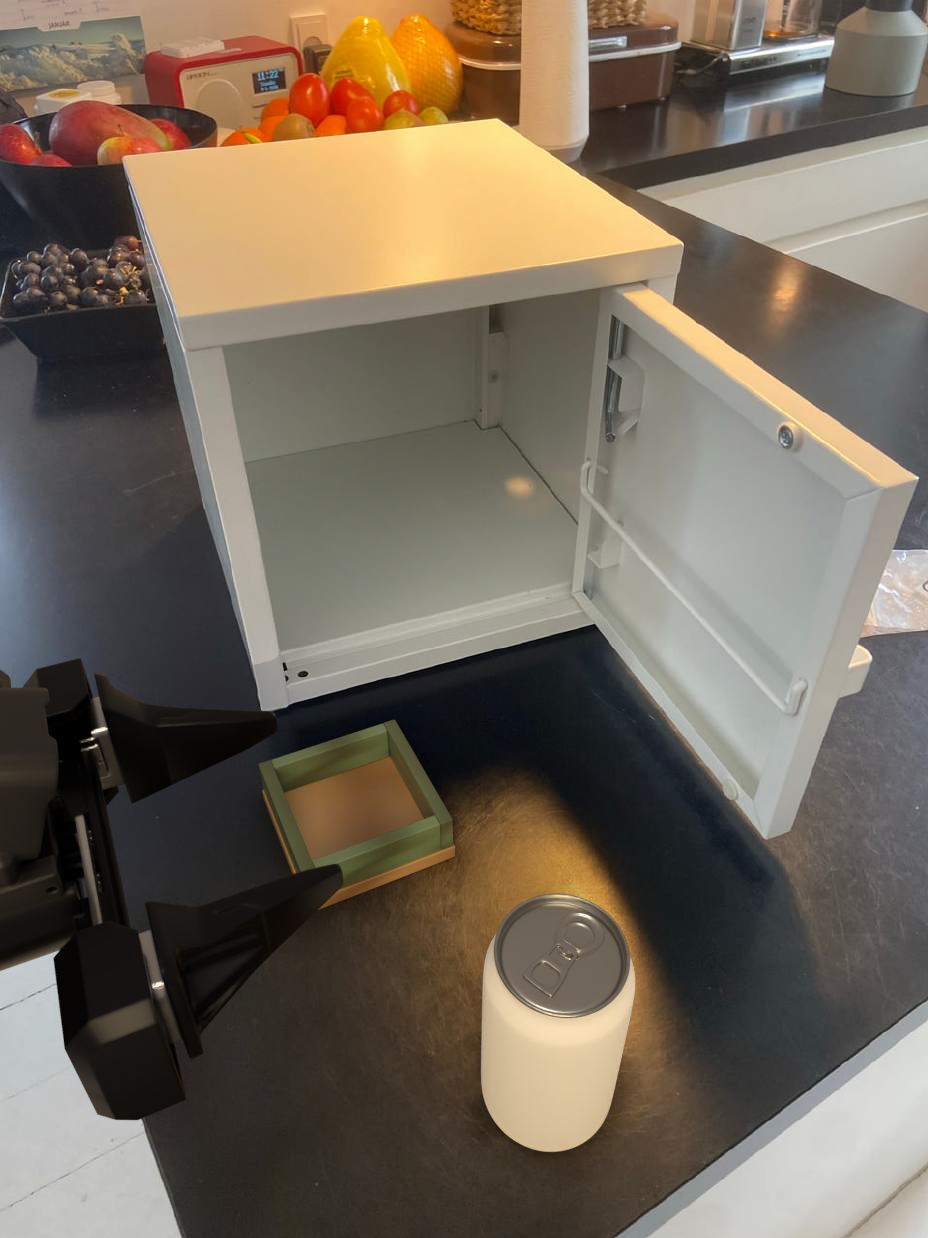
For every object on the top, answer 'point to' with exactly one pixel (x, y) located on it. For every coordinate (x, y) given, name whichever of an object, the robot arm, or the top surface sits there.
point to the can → (554, 1020)
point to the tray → (358, 809)
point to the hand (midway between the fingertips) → (306, 791)
